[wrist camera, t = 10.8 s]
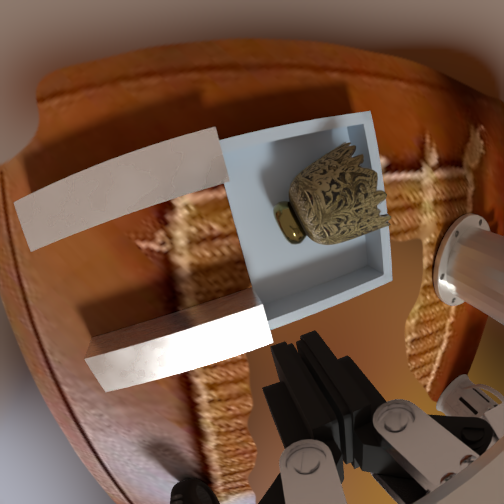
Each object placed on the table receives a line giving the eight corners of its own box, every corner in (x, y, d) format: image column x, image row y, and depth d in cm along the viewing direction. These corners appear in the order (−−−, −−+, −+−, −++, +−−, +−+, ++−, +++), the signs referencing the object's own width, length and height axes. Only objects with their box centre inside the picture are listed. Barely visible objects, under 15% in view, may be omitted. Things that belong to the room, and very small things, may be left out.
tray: (352, 114, 26) (370, 111, 23) (375, 270, 31) (392, 280, 28) (212, 142, 24) (218, 140, 21) (259, 314, 29) (269, 330, 26)
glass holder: (434, 417, 47) (478, 463, 33) (439, 374, 42) (496, 426, 28) (465, 392, 48) (509, 432, 34) (473, 346, 42) (529, 389, 29)
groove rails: (209, 130, 23) (215, 126, 20) (262, 322, 30) (273, 342, 26) (31, 196, 21) (13, 202, 18) (110, 369, 27) (105, 392, 24)
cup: (288, 234, 30) (361, 197, 28) (309, 287, 24) (398, 241, 23) (252, 171, 26) (336, 129, 24) (267, 217, 20) (378, 161, 18)
